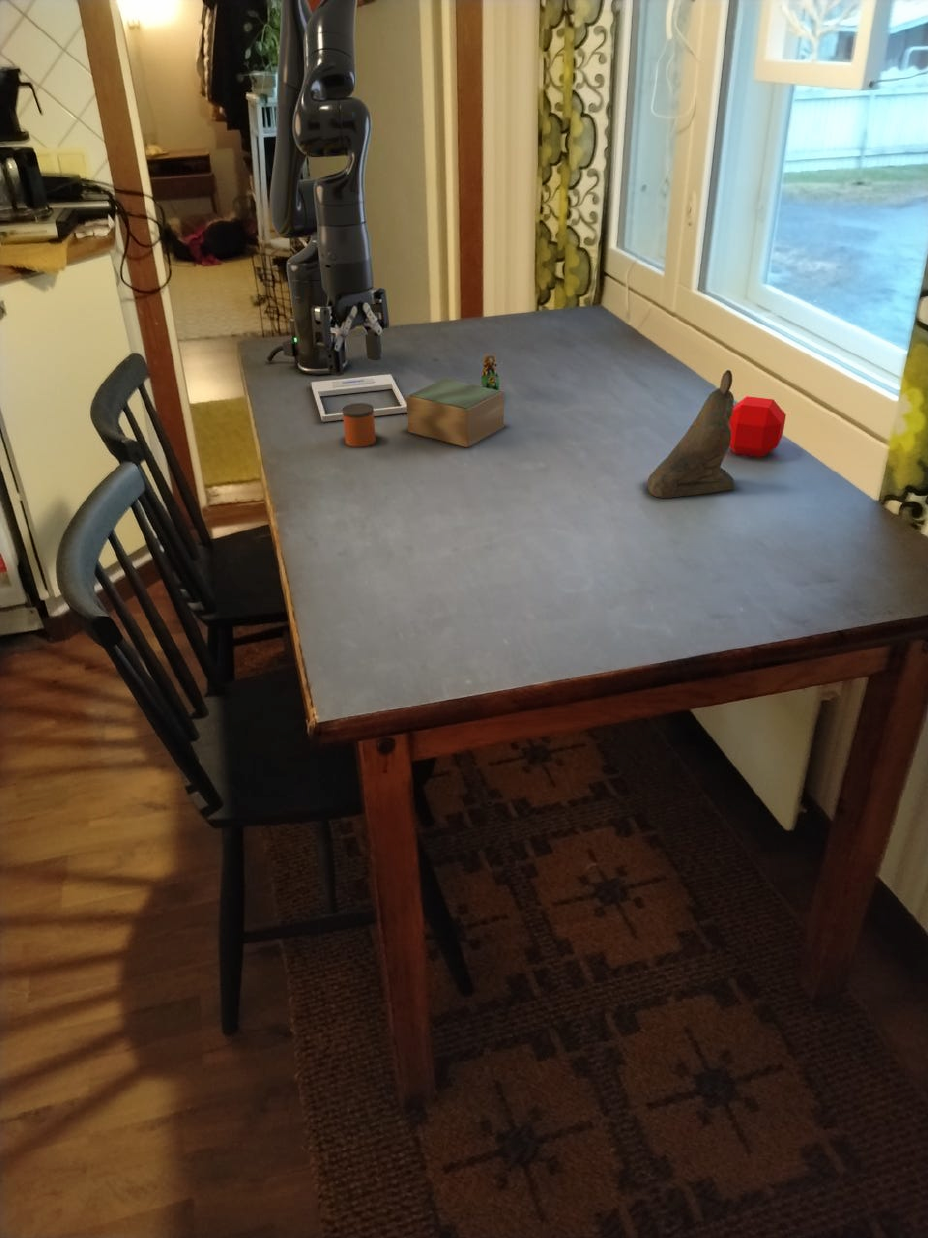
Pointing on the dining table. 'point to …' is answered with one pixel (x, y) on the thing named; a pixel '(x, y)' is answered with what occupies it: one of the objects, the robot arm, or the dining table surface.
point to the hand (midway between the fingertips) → (355, 366)
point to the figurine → (490, 374)
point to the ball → (756, 426)
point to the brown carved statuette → (699, 451)
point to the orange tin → (359, 424)
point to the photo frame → (357, 386)
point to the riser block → (455, 412)
